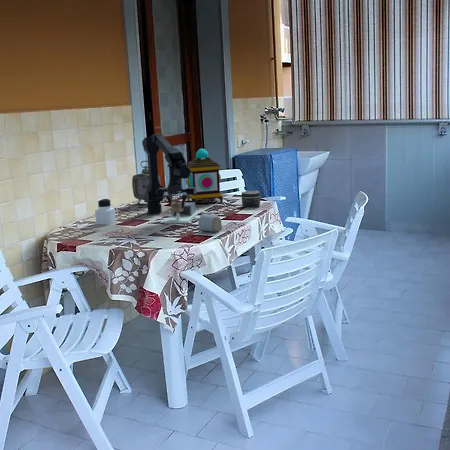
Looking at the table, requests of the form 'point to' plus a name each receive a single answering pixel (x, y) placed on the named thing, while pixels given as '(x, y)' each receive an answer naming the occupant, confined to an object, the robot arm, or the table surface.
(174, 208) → the block
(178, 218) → the board
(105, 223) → the medicine bottle
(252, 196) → the jar
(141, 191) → the tabletop clock
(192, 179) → the decorative lantern
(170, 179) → the robot arm
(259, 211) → the table surface
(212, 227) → the ceramic mug
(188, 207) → the cover
